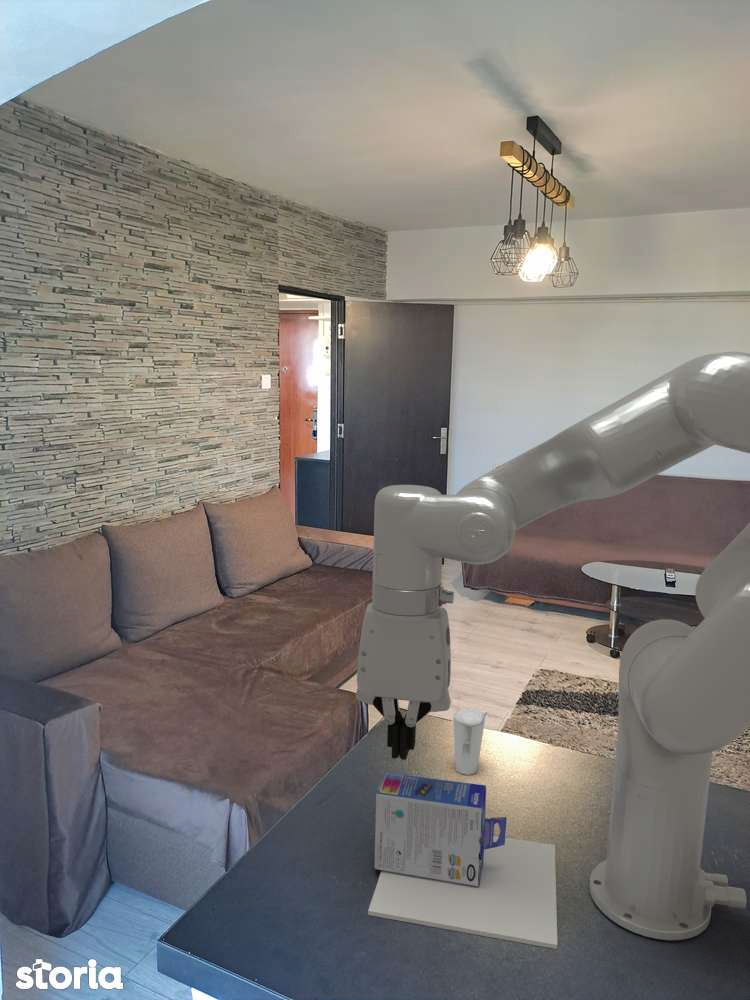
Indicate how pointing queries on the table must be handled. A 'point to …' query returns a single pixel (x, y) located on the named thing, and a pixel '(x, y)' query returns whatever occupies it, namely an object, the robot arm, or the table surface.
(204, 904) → the table surface
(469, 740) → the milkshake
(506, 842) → the mat
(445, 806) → the ink cartridge box
